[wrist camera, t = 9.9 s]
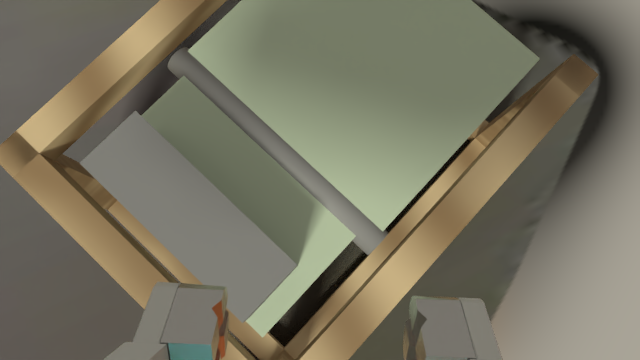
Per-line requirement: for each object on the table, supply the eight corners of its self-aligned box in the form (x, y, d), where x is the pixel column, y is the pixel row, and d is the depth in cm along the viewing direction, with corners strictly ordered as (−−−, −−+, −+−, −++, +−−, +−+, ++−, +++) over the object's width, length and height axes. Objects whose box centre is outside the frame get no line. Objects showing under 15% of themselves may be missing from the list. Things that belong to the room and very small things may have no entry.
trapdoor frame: (285, 381, 34) (276, 441, 21) (97, 196, 35) (-10, 154, 23) (500, 141, 37) (598, 74, 25) (319, -17, 39) (328, -153, 27)
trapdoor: (280, 350, 24) (276, 365, 20) (83, 157, 25) (40, 133, 21) (533, 71, 27) (575, 34, 22) (345, -89, 28) (352, -153, 24)
